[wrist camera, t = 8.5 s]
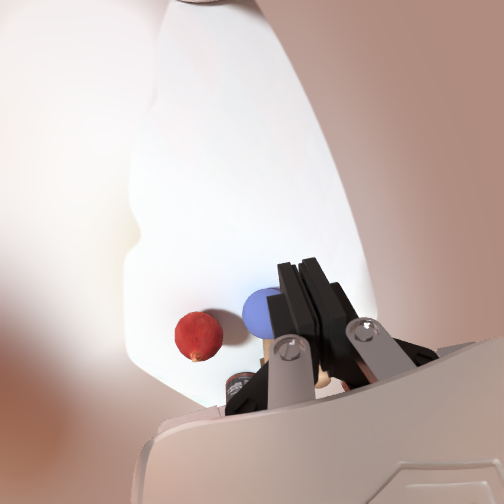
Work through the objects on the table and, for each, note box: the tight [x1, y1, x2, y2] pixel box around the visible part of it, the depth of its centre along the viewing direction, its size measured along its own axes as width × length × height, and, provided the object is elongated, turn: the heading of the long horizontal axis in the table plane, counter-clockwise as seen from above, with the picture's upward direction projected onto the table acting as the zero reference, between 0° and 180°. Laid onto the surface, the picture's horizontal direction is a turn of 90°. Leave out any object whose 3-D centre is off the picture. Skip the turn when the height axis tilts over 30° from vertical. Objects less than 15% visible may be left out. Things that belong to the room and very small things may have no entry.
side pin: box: [314, 364, 331, 389], centre depth 35 cm, size 2×2×9 cm
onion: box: [175, 312, 223, 362], centre depth 33 cm, size 6×6×8 cm
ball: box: [242, 289, 281, 339], centre depth 33 cm, size 6×6×6 cm
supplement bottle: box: [226, 372, 255, 404], centre depth 38 cm, size 6×6×11 cm
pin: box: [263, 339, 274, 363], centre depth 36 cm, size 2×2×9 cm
